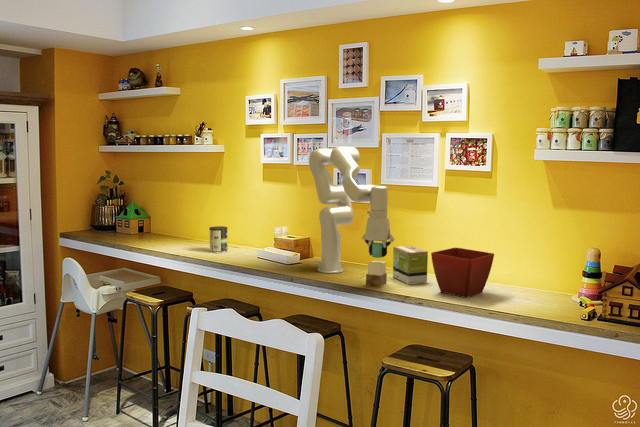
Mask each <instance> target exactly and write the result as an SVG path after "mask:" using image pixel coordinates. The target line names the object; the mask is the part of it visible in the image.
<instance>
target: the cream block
mask: <svg viewBox="0 0 640 427" xmlns="http://www.w3.org/2000/svg"><path fill="white" fill-rule="evenodd" d="M386 271H387V262H386V261H380V260H379V261H378V260H372V261H370V262H368V263H367V274H369V275H378V276H381V275H383V274H385V273H387V272H386Z"/></svg>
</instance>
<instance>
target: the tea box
mask: <svg viewBox="0 0 640 427" xmlns="http://www.w3.org/2000/svg"><path fill="white" fill-rule="evenodd" d="M392 249H393V252H392V254H393V255H392V256H393V257H392V278H394V279H397V280H399V281H400V282H403V283H405V284H406V283H408V284H407V285H414V284H413V283H420V284H426V283H428V261H429V260H428V259H429V257H428V253H429V252H428V250H424V249H421V248H420V247H419V248H418V247H416V246H413V245H403V246H393V248H392Z"/></svg>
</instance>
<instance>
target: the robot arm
mask: <svg viewBox="0 0 640 427" xmlns="http://www.w3.org/2000/svg"><path fill="white" fill-rule="evenodd" d="M359 161H360V152H359V151H358V149H357V148H356V147H354V146H336V147H334V148H330V147H329V148H326V147H325V148H324V147H322V148H316V149H314V150H312V151H311V152H310V154H309V158H308V165H309V170H310V172H311V174H312V177H313V180H314V185H315V190H316V194H317V199H318V201H319V203H320V204H322V205H328V206H325V207H322V209H321V210H320V211H319V214H318V216H319V217H318V218H319V225H320V260H314V261H313V265H314V266H318V268H317V272H319V273H323V274H338V273H343V272H344V267H341V246H342V245H341V243H342V240H341V239H342V238H341V236H342V235H341V232H340V230H339V228H338V226H345V225H350V224H351V223H353V220H354V210H353V205H352V201H353V202H356V203H363V202H364V203H365V202H366V203H367V202H369V210H367V211H366V214H367V215H369V216H368V217H367V220H366V226H365V233H364V235H363V234H362V237H361V239H362V240H363V241H364V242H365V243H366V244H367V246H368V254H369V256H372V243H373V242H382V243H383V248H382V256H383V257H382V258H384V257H386V256H387V255H388V248H389V246H390V245H391V244H392V243H393V242H395V241H396V240H395V238H394V236H393V235H392V234H391V224H390V218H389V217H388V199H389V198H388V196H389V195H388V194H389V193H388V192H389V191H388V187H387V186H384V185H376V184H357V183H356V181H355V180H354V179H355V178H356V177H357V176H358V175H359V173H360V170H361V169H360V165H358V163H359ZM331 166H332V167H336V168H337V170H338V171H339V172H340V174H341V175H342V184H334V183H333V180H332V179H333V178H332V175H331V173H330V172H329V170H328V169H327V168H326V167H331ZM329 205H333V206H329Z"/></svg>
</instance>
